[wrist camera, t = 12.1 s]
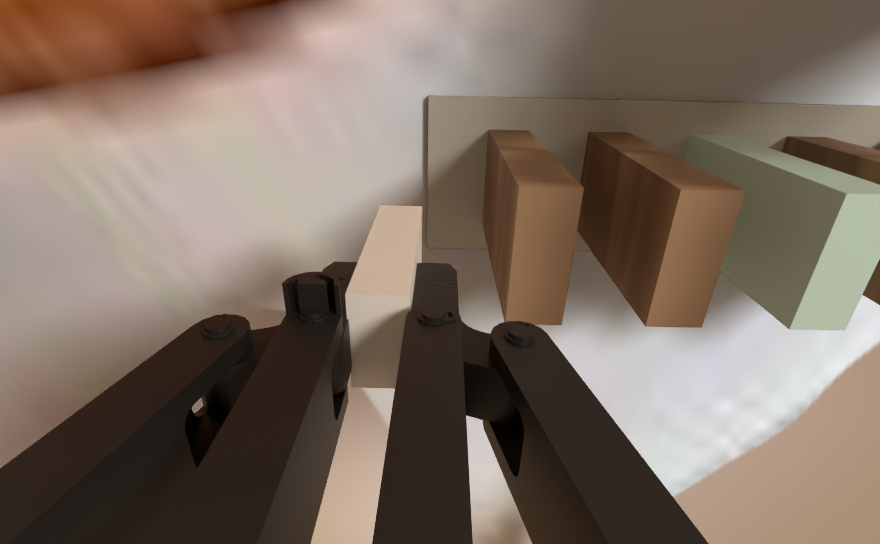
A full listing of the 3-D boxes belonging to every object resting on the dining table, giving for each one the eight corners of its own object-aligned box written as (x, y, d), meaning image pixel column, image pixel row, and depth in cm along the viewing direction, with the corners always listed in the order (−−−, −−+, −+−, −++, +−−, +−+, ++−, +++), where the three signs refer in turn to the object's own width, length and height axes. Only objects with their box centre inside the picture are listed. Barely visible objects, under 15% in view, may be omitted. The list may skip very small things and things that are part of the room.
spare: (667, 227, 26) (789, 329, 17) (691, 134, 23) (847, 193, 14) (703, 228, 26) (844, 330, 17) (730, 135, 23) (910, 194, 14)
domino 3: (754, 229, 26) (923, 331, 17) (786, 136, 23) (1001, 196, 14) (791, 229, 26) (978, 332, 17) (826, 136, 23) (1064, 197, 15)
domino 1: (482, 223, 26) (505, 323, 17) (488, 129, 23) (519, 186, 14) (518, 224, 26) (561, 324, 17) (528, 130, 23) (583, 187, 14)
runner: (427, 245, 26) (426, 248, 26) (428, 95, 23) (428, 96, 23) (916, 255, 27) (921, 257, 26) (993, 108, 23) (1000, 109, 23)
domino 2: (573, 225, 26) (645, 326, 17) (588, 131, 23) (680, 189, 14) (610, 226, 26) (701, 327, 17) (628, 132, 23) (745, 191, 14)
